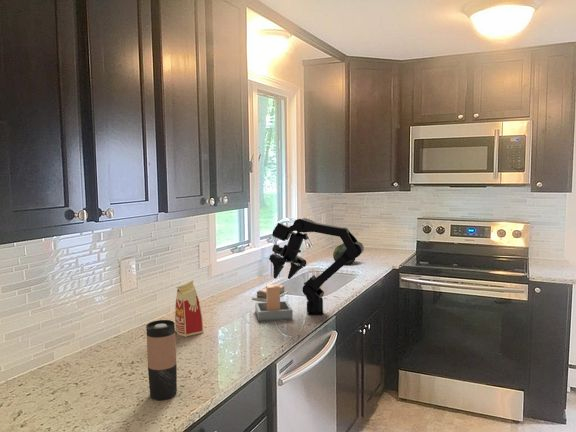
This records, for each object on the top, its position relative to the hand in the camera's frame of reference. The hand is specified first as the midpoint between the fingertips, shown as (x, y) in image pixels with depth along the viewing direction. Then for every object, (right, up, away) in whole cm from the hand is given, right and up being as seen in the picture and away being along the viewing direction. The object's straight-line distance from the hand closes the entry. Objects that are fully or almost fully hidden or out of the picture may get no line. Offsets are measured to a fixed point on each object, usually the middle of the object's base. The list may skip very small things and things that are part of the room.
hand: (281, 278), depth 205 cm
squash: (+40, -4, +103) cm, 111 cm away
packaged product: (-6, -13, +26) cm, 29 cm away
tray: (-3, -15, -5) cm, 16 cm away
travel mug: (-32, -22, -75) cm, 84 cm away
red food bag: (-36, -18, -24) cm, 46 cm away
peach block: (-3, -14, -5) cm, 16 cm away
